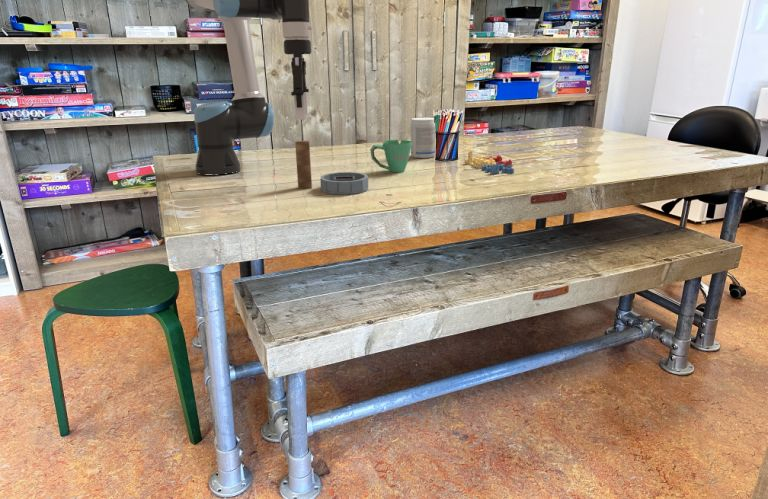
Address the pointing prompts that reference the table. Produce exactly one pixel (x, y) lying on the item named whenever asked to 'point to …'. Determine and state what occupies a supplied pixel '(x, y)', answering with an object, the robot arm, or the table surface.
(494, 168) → the toy parts cluster
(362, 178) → the grey ridged lid
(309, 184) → the brown wooden block
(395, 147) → the mug
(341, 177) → the clip
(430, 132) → the supplement tub
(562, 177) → the table surface
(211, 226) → the table surface
